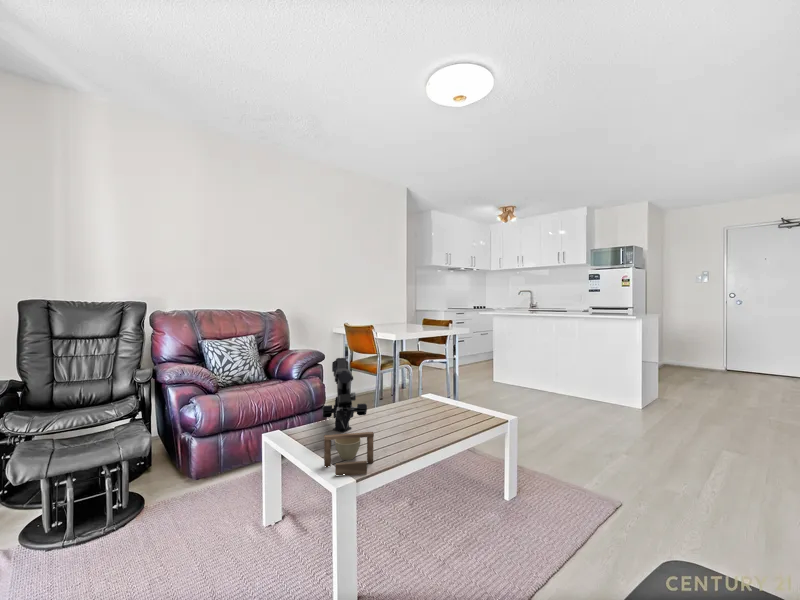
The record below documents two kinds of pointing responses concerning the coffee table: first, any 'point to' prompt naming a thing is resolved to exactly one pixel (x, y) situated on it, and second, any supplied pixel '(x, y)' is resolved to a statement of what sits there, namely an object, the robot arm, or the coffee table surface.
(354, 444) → the flower pot
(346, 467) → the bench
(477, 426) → the coffee table surface
